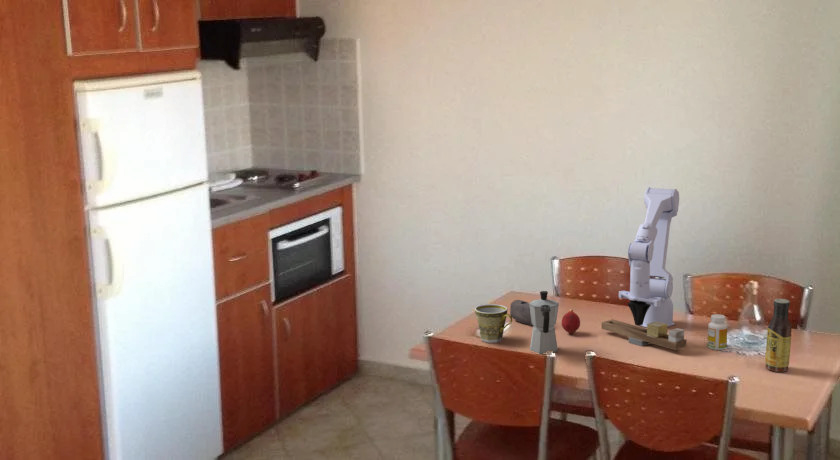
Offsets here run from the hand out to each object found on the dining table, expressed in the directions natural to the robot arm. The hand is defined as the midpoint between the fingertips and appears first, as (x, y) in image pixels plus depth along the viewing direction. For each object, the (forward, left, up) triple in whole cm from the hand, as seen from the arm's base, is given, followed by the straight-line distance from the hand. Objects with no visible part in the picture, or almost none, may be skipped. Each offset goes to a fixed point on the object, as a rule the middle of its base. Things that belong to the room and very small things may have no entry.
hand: (638, 324), depth 288 cm
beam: (0, +2, -5) cm, 5 cm away
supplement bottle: (-12, +20, -5) cm, 23 cm away
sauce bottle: (-8, +42, -5) cm, 43 cm away
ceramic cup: (+32, -29, -5) cm, 44 cm away
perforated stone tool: (+12, -34, -5) cm, 37 cm away
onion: (+10, -18, -5) cm, 22 cm away
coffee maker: (+28, -12, -5) cm, 31 cm away
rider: (0, +7, -3) cm, 8 cm away
